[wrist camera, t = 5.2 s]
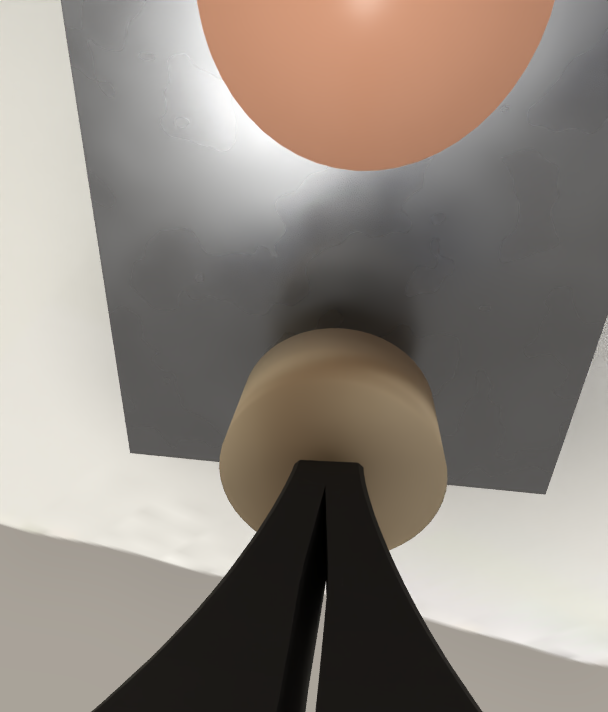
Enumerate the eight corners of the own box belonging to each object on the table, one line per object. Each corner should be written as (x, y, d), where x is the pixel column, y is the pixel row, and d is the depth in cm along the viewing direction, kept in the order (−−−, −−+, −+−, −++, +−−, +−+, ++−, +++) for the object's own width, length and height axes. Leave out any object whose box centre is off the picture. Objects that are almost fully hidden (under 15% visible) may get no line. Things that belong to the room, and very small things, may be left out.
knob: (449, 336, 12) (467, 394, 10) (419, 495, 15) (428, 569, 13) (240, 320, 13) (214, 371, 11) (243, 477, 15) (223, 546, 13)
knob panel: (1005, -1134, 7) (1302, -1696, 5) (525, 446, 19) (545, 494, 17) (-14, -1018, 8) (-160, -1436, 6) (155, 411, 20) (130, 452, 18)
